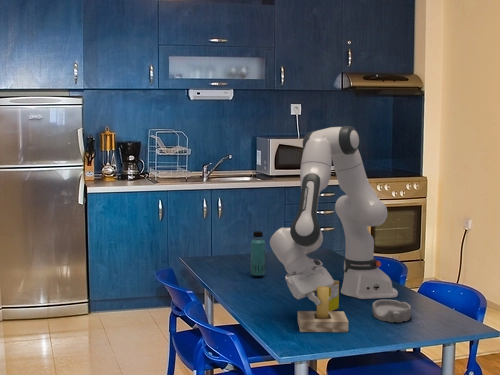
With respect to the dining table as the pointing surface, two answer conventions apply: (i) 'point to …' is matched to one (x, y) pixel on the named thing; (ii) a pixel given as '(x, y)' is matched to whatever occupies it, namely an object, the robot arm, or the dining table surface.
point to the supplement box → (334, 296)
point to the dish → (391, 310)
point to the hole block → (322, 322)
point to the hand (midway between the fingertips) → (324, 302)
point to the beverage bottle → (258, 255)
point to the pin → (323, 302)
